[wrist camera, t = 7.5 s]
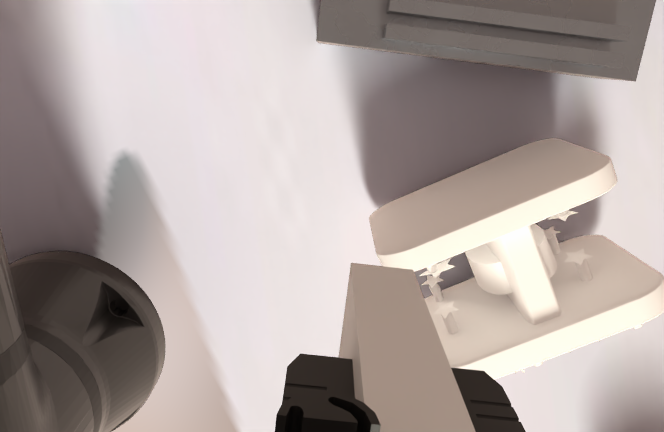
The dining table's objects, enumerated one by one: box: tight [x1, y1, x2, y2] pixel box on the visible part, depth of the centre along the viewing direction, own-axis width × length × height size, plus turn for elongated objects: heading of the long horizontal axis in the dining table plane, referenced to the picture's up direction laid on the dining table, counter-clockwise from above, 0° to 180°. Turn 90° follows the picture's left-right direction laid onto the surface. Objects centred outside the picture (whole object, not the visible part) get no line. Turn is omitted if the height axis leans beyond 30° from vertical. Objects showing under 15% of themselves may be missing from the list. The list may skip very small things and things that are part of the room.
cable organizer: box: [369, 138, 664, 380], centre depth 38 cm, size 15×11×12 cm
